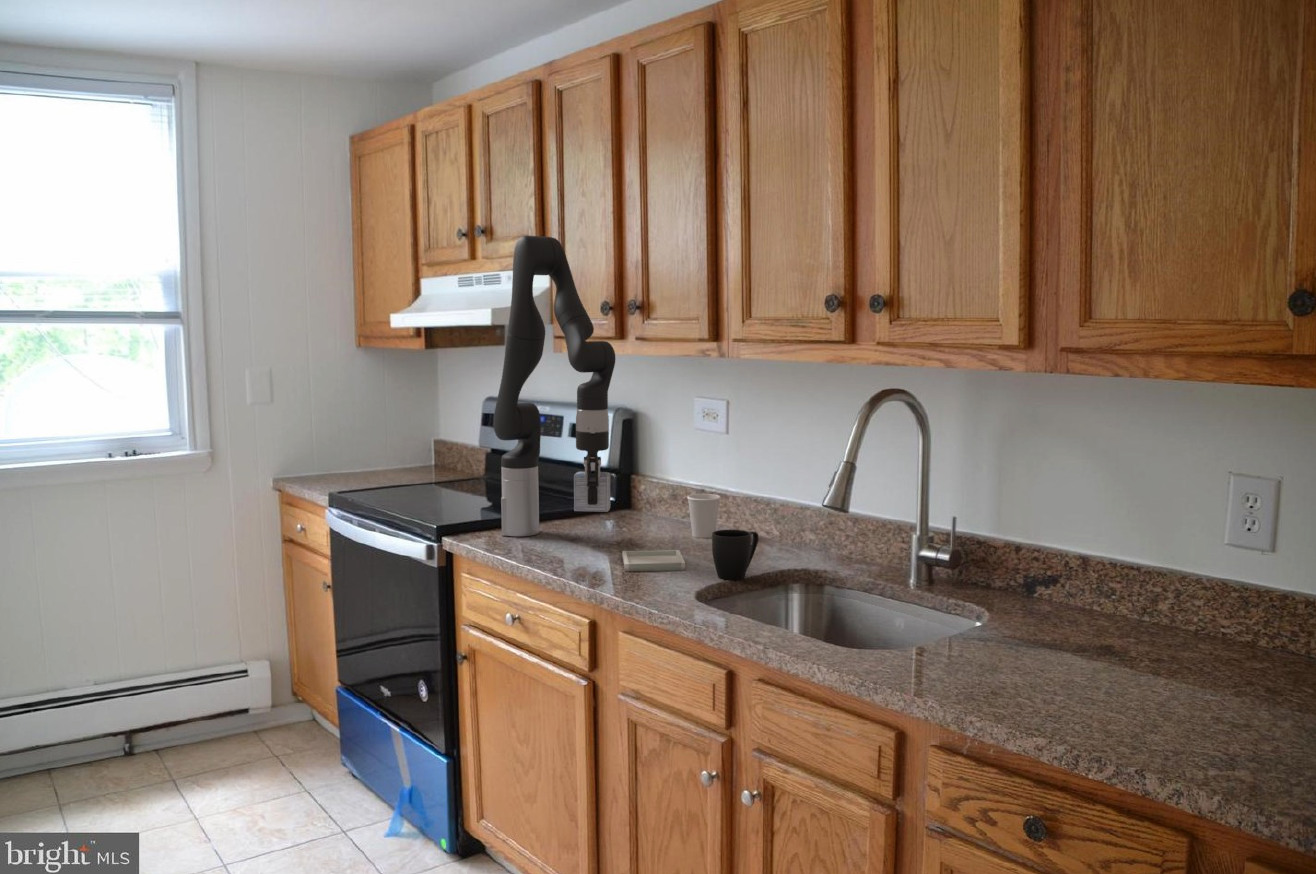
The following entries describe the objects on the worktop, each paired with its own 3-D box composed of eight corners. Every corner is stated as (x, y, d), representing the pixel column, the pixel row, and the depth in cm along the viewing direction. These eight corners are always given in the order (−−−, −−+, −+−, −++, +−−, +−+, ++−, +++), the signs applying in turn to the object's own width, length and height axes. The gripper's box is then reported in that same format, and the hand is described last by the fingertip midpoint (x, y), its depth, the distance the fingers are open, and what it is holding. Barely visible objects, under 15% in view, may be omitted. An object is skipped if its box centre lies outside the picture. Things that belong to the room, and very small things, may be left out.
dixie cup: (710, 540, 261) (710, 500, 260) (681, 536, 265) (681, 497, 264) (726, 534, 268) (726, 495, 267) (697, 531, 272) (697, 492, 271)
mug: (771, 575, 225) (771, 531, 224) (731, 584, 217) (731, 538, 216) (743, 568, 231) (743, 525, 230) (703, 577, 223) (703, 532, 222)
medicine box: (610, 508, 247) (610, 472, 246) (607, 512, 242) (608, 475, 241) (577, 507, 247) (577, 471, 246) (573, 511, 243) (573, 474, 242)
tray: (625, 571, 229) (625, 564, 229) (622, 558, 242) (622, 551, 242) (685, 570, 230) (685, 562, 230) (679, 556, 243) (679, 550, 243)
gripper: (575, 425, 249) (576, 496, 251) (575, 432, 235) (576, 508, 237) (607, 425, 250) (607, 496, 252) (609, 432, 236) (609, 507, 238)
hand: (592, 501), depth 245 cm, fingers closed on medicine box, 5 cm apart
